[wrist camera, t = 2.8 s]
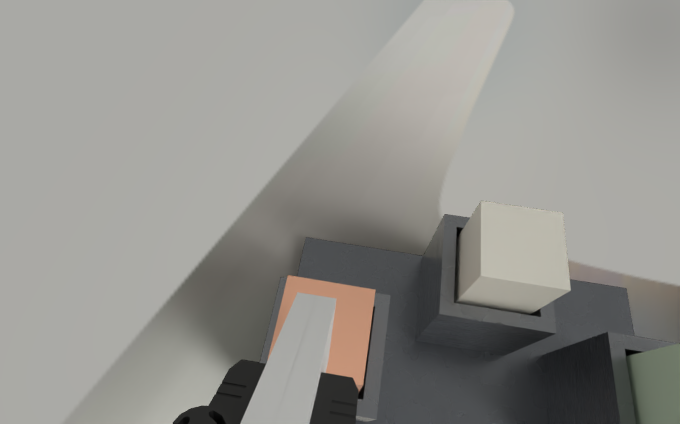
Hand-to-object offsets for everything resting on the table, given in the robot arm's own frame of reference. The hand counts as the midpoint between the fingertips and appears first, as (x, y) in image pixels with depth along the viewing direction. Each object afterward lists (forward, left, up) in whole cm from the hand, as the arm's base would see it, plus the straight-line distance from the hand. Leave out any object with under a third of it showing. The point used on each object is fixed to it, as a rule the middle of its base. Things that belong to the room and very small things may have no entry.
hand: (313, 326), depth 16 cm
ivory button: (-10, -7, -12) cm, 17 cm away
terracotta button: (0, -1, -12) cm, 12 cm away
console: (-10, -4, -17) cm, 20 cm away
